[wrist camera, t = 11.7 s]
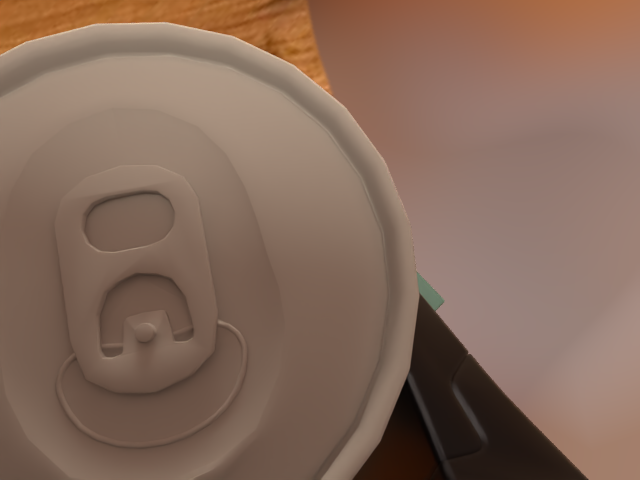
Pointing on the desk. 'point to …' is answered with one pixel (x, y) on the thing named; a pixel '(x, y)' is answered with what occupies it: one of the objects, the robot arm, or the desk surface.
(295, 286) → the beverage can
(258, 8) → the desk surface
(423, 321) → the robot arm
